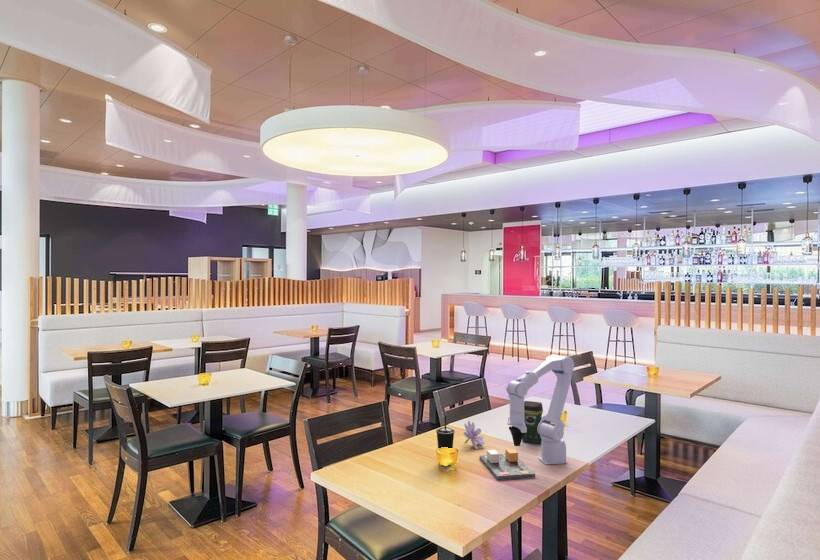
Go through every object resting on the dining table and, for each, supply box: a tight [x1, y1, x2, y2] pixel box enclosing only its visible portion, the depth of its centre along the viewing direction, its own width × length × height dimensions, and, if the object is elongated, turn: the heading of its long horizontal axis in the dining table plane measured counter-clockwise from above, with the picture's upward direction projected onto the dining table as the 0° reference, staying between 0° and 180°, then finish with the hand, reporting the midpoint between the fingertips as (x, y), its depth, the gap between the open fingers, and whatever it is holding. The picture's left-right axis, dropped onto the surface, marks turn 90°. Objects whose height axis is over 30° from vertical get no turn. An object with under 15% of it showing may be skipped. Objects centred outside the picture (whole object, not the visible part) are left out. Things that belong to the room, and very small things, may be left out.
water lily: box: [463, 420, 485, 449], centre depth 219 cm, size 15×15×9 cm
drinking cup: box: [435, 414, 455, 449], centre depth 196 cm, size 8×8×20 cm
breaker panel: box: [479, 453, 536, 481], centre depth 192 cm, size 15×22×2 cm
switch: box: [486, 449, 500, 463], centre depth 195 cm, size 4×5×4 cm
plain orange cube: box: [504, 448, 519, 462], centre depth 196 cm, size 4×5×4 cm
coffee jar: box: [522, 400, 544, 444], centre depth 224 cm, size 10×8×19 cm
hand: (517, 445), depth 190 cm, fingers closed
